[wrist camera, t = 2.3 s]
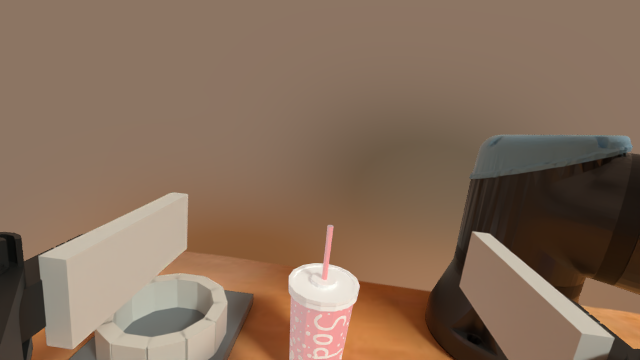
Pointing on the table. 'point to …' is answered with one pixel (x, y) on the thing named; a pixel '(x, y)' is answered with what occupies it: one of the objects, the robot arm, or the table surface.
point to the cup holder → (172, 322)
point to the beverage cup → (320, 308)
